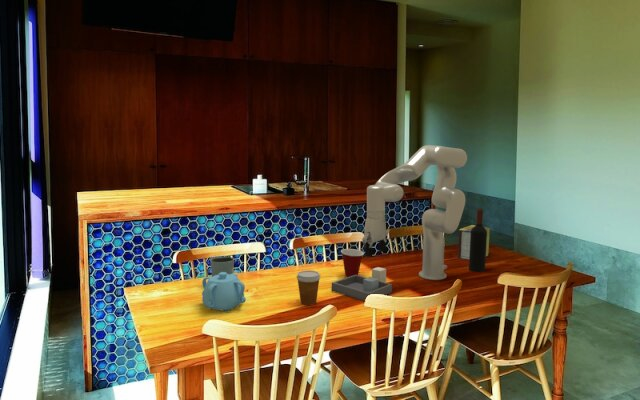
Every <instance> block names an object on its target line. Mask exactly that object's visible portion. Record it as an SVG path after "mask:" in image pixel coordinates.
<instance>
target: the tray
mask: <svg viewBox="0 0 640 400" xmlns="http://www.w3.org/2000/svg"><path fill="white" fill-rule="evenodd" d="M366 278H367V277H365V276H362V275H360V274H358V275H353V276H350V277H345V278H341V279H338V280H336V281H332V282H331V291H332V292H335V293H338V294H340V295H344V296H347V297H351V298H353V299H356V300H360V301H363V302H366V301H365V299H366V297H367V296H368V295H370V294H384V295H385V296H387V294H388V295H389V294H392V293H393V284H392V283H388V282H381V281H379V287H378V289H376V290H373V291H371V292H365V291H363V279H366Z"/></svg>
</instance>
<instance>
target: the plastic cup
mask: <svg viewBox="0 0 640 400" xmlns="http://www.w3.org/2000/svg"><path fill="white" fill-rule="evenodd" d="M340 253H341V255H342V256H341V257H342V261H343V269H344V275H345V278H347V277H350V276H353V275H359V274H360V273H359V272H360V268H361V263H362V259H363V256H364V255H365V252H363V250H360V249H355V248H345V249H341V250H340Z"/></svg>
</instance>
